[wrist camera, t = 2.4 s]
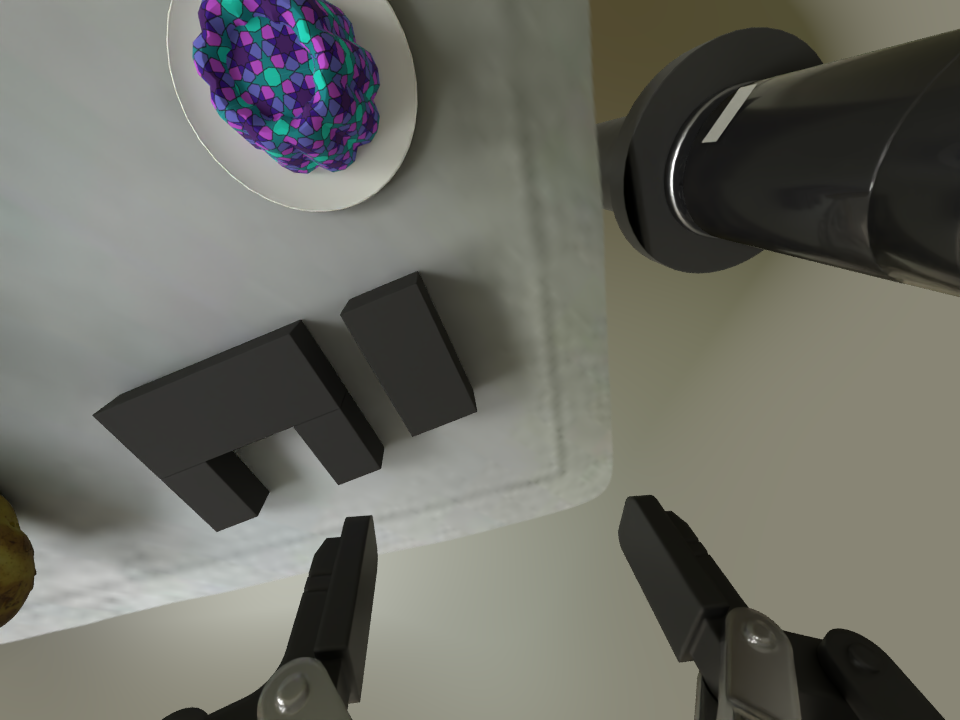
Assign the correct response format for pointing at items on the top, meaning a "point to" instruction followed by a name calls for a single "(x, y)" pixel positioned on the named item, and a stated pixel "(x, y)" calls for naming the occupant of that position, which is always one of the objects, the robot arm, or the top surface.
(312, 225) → the top surface
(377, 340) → the black rectangular block
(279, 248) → the top surface
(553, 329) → the top surface
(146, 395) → the base pad
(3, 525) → the potato
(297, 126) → the pudding
